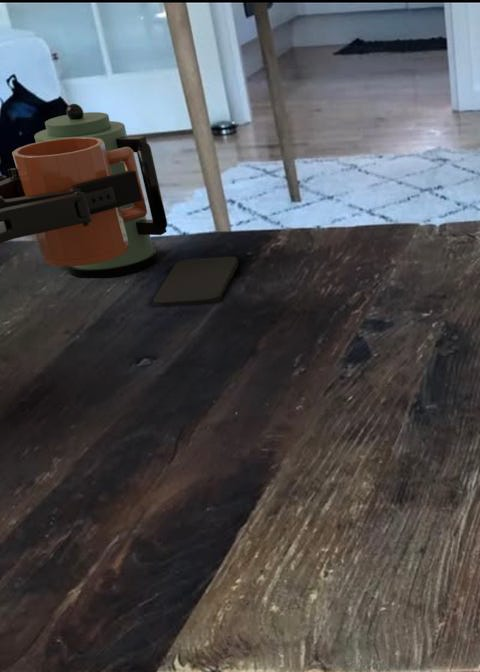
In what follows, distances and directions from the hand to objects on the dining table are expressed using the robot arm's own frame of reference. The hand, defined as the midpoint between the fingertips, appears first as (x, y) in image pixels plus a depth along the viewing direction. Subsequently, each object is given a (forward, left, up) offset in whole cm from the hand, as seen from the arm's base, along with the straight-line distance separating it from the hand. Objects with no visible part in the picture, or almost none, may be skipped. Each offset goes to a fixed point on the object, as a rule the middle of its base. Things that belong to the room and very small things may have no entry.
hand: (111, 180), depth 112 cm
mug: (-1, -2, -6) cm, 7 cm away
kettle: (-12, +15, -13) cm, 24 cm away
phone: (+2, +9, -13) cm, 16 cm away
